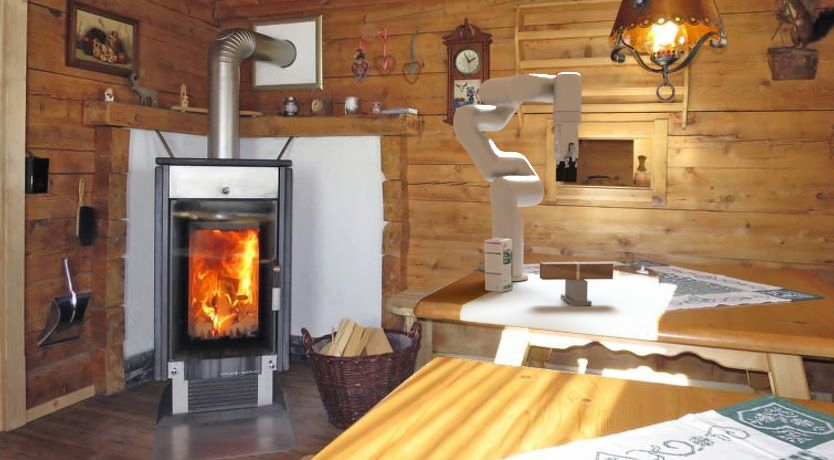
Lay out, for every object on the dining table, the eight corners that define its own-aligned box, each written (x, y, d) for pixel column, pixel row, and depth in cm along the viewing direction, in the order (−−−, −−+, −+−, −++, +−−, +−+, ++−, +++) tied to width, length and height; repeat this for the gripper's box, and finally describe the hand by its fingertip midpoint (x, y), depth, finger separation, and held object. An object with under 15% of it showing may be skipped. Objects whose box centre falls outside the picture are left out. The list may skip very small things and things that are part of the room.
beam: (539, 277, 183) (539, 261, 182) (608, 277, 183) (608, 261, 183) (542, 279, 179) (542, 263, 179) (612, 279, 180) (613, 263, 179)
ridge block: (560, 297, 187) (561, 275, 186) (579, 297, 187) (579, 275, 187) (571, 305, 176) (572, 282, 176) (591, 305, 176) (592, 281, 176)
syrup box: (502, 292, 195) (503, 240, 193) (484, 290, 198) (484, 238, 197) (512, 289, 199) (513, 238, 198) (494, 287, 203) (495, 237, 202)
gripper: (546, 121, 202) (545, 181, 203) (561, 116, 185) (560, 182, 186) (572, 121, 202) (571, 181, 204) (589, 116, 185) (588, 182, 187)
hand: (565, 181), depth 195 cm, fingers open, 9 cm apart
